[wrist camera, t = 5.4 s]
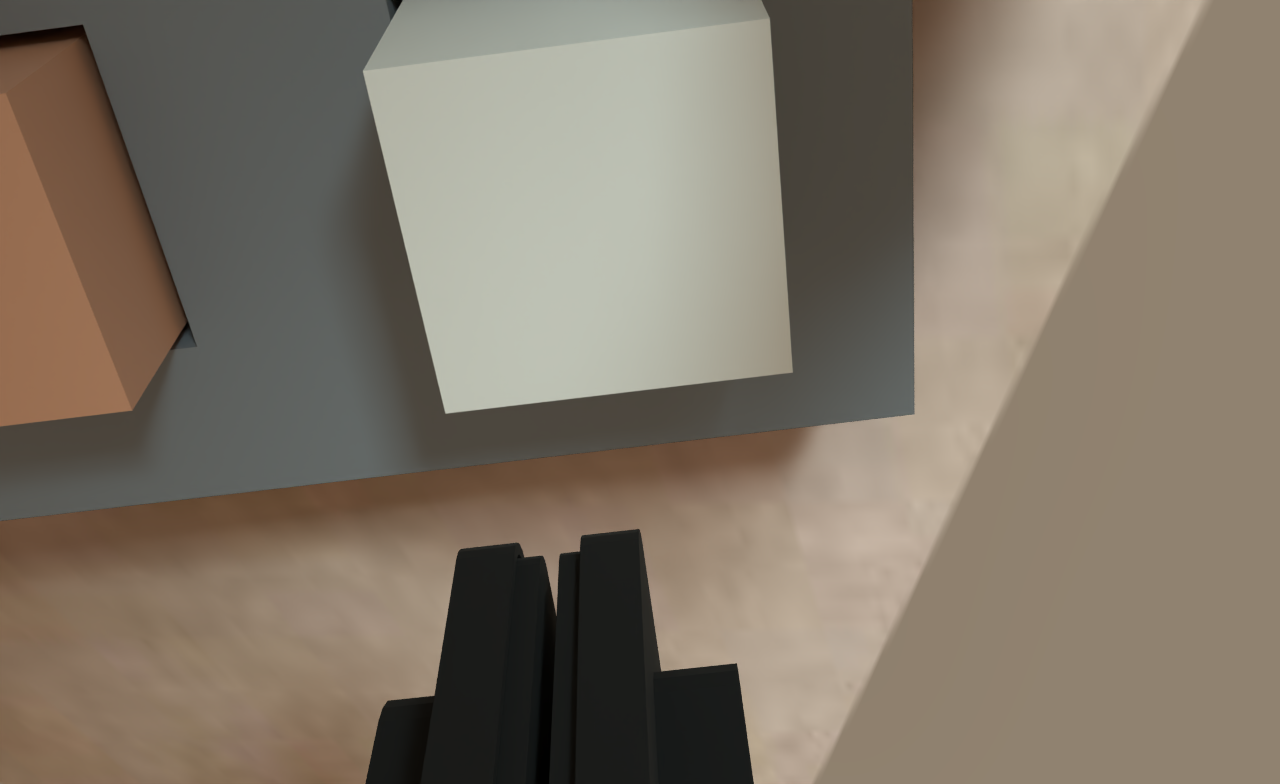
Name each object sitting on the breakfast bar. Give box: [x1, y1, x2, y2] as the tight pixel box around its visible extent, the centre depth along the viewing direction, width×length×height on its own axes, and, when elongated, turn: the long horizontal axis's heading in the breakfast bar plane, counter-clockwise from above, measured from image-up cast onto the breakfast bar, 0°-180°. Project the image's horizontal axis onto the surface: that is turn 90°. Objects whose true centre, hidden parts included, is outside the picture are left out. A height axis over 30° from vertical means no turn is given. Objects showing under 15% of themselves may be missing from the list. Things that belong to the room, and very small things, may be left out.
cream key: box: [363, 0, 793, 414], centre depth 22 cm, size 6×6×5 cm
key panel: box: [0, 0, 914, 521], centre depth 25 cm, size 14×24×5 cm, turn 97°
